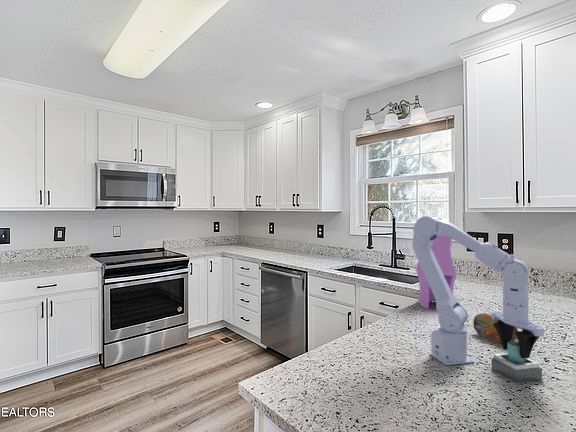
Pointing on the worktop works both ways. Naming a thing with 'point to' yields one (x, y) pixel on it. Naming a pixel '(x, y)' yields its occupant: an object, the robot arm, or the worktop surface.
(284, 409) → the worktop surface
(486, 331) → the tin
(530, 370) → the grey flat square block
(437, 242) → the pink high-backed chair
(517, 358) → the teal capped cylinder
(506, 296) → the robot arm
